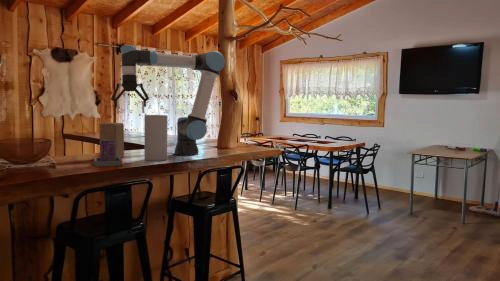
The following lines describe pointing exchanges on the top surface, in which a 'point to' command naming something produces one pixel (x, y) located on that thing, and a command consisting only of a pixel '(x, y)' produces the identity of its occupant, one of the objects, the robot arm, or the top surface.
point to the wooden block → (113, 136)
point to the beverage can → (107, 150)
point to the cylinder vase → (155, 137)
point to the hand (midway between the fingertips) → (130, 113)
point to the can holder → (108, 162)
